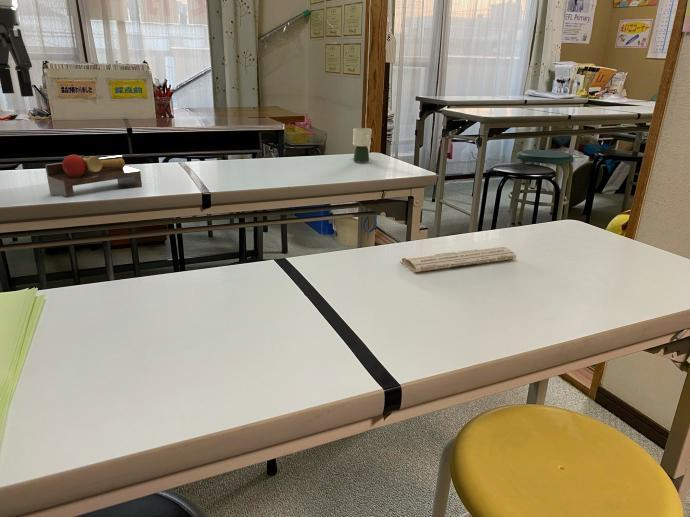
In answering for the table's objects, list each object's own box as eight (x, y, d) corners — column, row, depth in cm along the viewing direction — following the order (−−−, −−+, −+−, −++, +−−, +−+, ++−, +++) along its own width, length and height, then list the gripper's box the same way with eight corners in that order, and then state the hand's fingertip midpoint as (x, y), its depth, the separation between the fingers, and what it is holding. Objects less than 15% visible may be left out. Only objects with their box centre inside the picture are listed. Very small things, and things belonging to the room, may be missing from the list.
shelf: (67, 201, 140) (62, 170, 136) (50, 194, 146) (44, 164, 143) (142, 188, 155) (139, 160, 152) (123, 182, 162) (120, 155, 159)
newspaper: (415, 274, 98) (416, 265, 98) (398, 261, 104) (399, 253, 104) (515, 260, 107) (517, 252, 106) (494, 249, 113) (495, 241, 112)
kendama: (112, 170, 158) (54, 171, 143) (114, 150, 156) (56, 149, 141) (128, 178, 155) (71, 180, 140) (131, 158, 153) (73, 157, 137)
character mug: (375, 164, 202) (377, 130, 198) (359, 165, 199) (361, 131, 195) (362, 159, 211) (363, 126, 207) (347, 160, 208) (348, 127, 204)
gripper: (36, 8, 127) (51, 97, 135) (0, 11, 142) (15, 91, 150) (2, 5, 122) (20, 98, 130) (-32, 9, 137) (-14, 92, 145)
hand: (17, 95), depth 140 cm, fingers open, 13 cm apart
